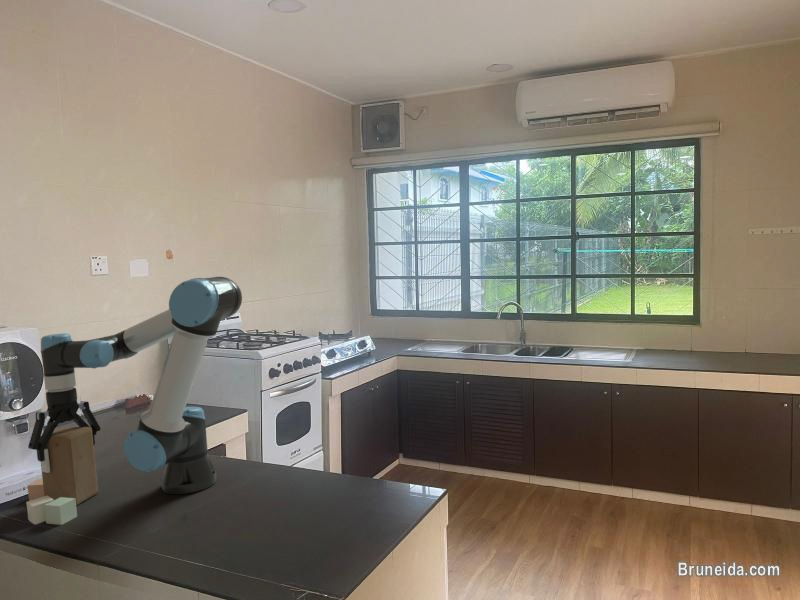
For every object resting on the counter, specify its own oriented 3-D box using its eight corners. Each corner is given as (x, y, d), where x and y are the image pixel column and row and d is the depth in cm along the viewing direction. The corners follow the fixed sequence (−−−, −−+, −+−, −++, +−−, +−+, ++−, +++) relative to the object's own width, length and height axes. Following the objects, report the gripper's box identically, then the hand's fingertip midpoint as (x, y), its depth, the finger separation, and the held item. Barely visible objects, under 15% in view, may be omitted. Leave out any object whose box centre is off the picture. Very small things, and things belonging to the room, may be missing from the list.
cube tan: (57, 494, 176) (55, 478, 176) (46, 501, 171) (44, 484, 171) (40, 495, 176) (38, 478, 176) (29, 502, 171) (27, 485, 171)
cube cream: (55, 517, 159) (53, 499, 159) (34, 525, 155) (32, 506, 155) (49, 513, 162) (47, 495, 162) (28, 520, 159) (26, 501, 158)
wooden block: (74, 507, 165) (67, 436, 163) (43, 506, 167) (36, 436, 165) (100, 493, 175) (93, 425, 173) (70, 492, 177) (63, 426, 175)
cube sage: (77, 516, 159) (75, 498, 159) (61, 525, 154) (59, 506, 154) (62, 515, 160) (60, 497, 160) (46, 523, 156) (44, 504, 155)
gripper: (94, 379, 180) (101, 449, 182) (7, 397, 160) (16, 476, 162) (109, 380, 176) (116, 452, 178) (22, 400, 156) (31, 481, 158)
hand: (68, 464), depth 170 cm, fingers closed on wooden block, 12 cm apart
